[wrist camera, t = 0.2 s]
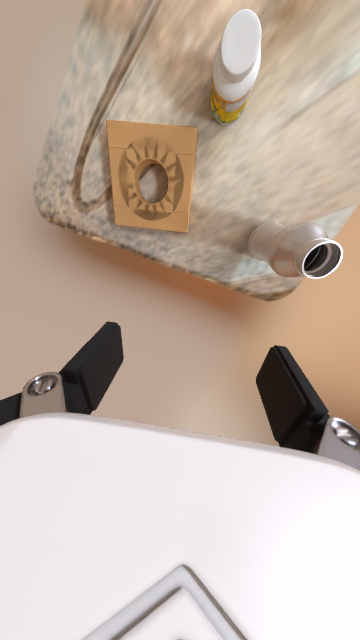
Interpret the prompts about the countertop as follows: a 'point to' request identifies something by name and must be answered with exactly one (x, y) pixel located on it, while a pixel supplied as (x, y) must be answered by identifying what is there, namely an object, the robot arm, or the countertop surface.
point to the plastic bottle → (295, 249)
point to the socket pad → (140, 151)
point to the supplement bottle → (235, 66)
